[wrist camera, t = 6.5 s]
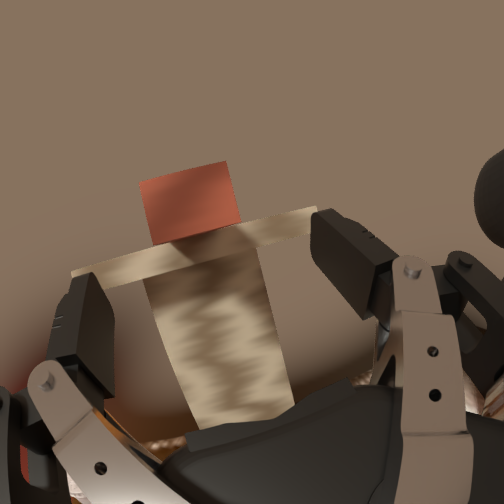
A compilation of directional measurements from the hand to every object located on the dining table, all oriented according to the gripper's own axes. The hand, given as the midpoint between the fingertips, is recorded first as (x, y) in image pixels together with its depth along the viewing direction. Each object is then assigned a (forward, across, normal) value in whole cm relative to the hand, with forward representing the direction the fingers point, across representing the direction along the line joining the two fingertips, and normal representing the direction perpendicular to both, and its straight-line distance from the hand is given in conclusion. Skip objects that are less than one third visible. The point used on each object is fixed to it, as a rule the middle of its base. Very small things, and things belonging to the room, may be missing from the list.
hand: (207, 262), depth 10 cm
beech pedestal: (+1, 0, +36) cm, 36 cm away
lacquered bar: (+13, 0, +6) cm, 14 cm away
